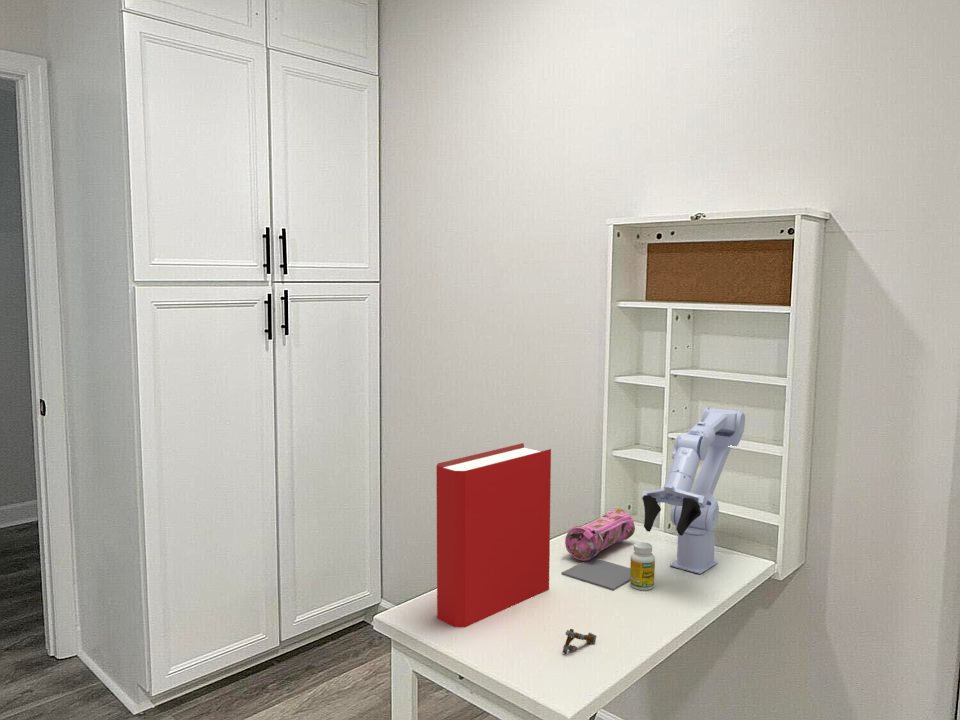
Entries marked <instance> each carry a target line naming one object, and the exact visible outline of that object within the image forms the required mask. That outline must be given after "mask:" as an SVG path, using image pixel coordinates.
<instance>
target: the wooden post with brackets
mask: <svg viewBox="0 0 960 720" xmlns="http://www.w3.org/2000/svg"><path fill="white" fill-rule="evenodd" d="M565 635H566V636H567V637H566V641H565V643H564V645H563V648H562V653H563V654H568V651H570V652H572V653H573V652H577V650H578V646H576V645H572V644H571V642H573V640H575V639H577V640H581V641H585V642H587V643H589V644H590V645H593V646H594V645H595V643H596V640H597V637H598V636H597V635H596V634H594V633H592V632H588V634H583V633H580V632H576V631H574V629H573V628H570V629H569V630H568V629H566V631H565Z"/></svg>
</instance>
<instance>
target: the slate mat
mask: <svg viewBox="0 0 960 720" xmlns="http://www.w3.org/2000/svg"><path fill="white" fill-rule="evenodd" d="M630 569H631V567H627V566H625V565H621V564H619V563H618V564H617V563H613V562H610V561H607V560H603V559H600V558H596V557H594V556H593V557H592V558H591V559H590V560H587V561H581V562H580V563H578V564H576V565H574V566H572V567H569V568H568V569H566V570H564V571H562V572H561V575H562V576H565V577H569V578H572V579H575V580H578V581H581V582H584V583H588V584H591V585H594V586H597V587H599V588H600V587H601V588H603V589H607V590H610V591H615V590H617V589H618V588H620V587H622V586H624V585H625V584H627V583H629V582H630Z"/></svg>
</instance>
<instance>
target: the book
mask: <svg viewBox="0 0 960 720" xmlns="http://www.w3.org/2000/svg"><path fill="white" fill-rule="evenodd" d="M551 461H552V449H551V448H549V449H545V450H542V451H540V450H536V449H532V448H527V447H525V445H524V442H522V443H518V444H514V445H509V446H505V447H502V448H497V449H493V450H488V451H485V452H480V453H475V454H473V455H468V456H463V457H459V458H456V459H451V460H448V461H442V462H438V463H437V464H436V619H437V620H439V621H441V622H444V623H446V624H448V625H450V626H452V627H454V628H467V627H469V626H472V625H474V624H476V623H478V622H480V621H482V620H485V619H487V618H489V617H491V616H493V615H496V614H498V613H500V612H503V611H505V610H507V609H509V608H511V606H512V607H514V606H516V605H517V604H520V603H523V602H525V601H527V600H529V599H531V597H532V598H534V597H536V596H538V595H540V594H543V593H544V592H547V591H549V590H550V556H551V555H550V551H551V549H550V547H551V544H550V543H551V542H550V541H551V482H552V481H551V478H552V477H551V476H552V475H551V469H552V467H551V466H552V463H551Z"/></svg>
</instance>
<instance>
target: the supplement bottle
mask: <svg viewBox="0 0 960 720" xmlns="http://www.w3.org/2000/svg"><path fill="white" fill-rule="evenodd" d="M652 552H653V544H651V543H648V542H644V541H641V542H639V541H638V542H635V543H634V545H633V552H632V553H631V555H630V568H631V569H630V581H629V582H630V583H629V584H630V586H631V588H633V589H635V590H638V591H650V590H653V588H654V587H655V575H656V574H655V573H656V570H655V569H656V566H655V565H656V557H655V555H654V554H653V553H652Z"/></svg>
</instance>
